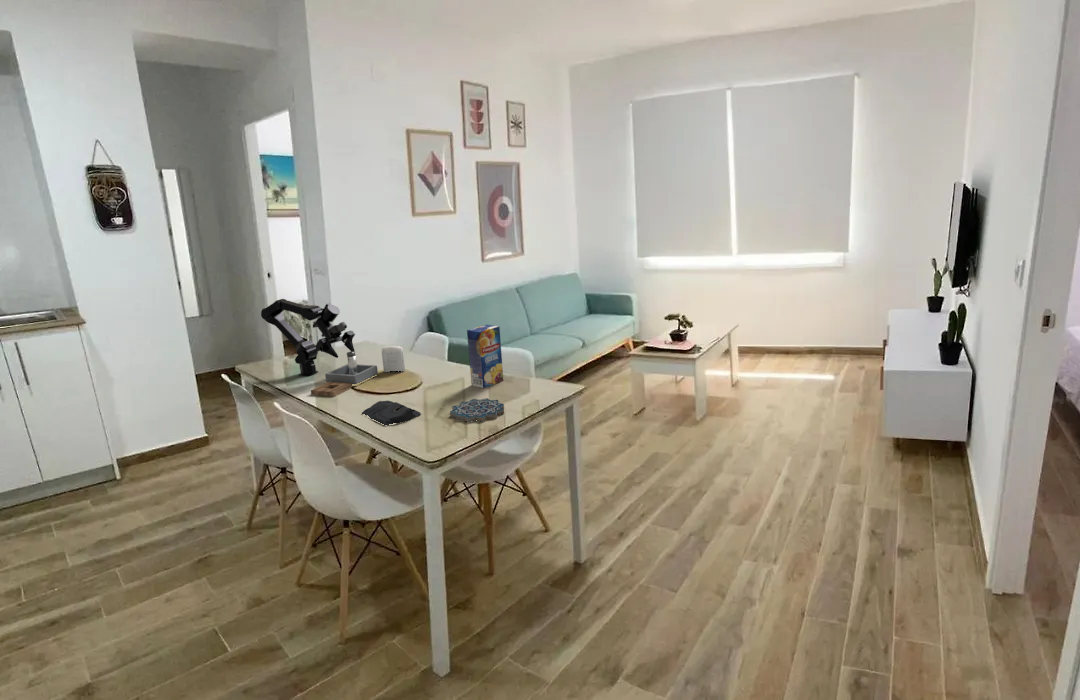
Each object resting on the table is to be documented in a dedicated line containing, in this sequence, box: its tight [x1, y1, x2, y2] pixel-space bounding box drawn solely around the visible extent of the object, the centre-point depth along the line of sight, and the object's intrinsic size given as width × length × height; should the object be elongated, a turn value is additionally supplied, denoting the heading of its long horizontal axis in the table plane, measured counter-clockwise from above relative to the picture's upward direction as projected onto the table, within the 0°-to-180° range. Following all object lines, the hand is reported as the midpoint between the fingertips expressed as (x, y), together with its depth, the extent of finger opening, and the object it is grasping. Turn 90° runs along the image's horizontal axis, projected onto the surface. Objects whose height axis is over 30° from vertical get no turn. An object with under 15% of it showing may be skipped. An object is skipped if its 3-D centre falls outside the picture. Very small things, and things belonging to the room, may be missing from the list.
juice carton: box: [466, 324, 504, 389], centre depth 260 cm, size 12×8×24 cm, turn 140°
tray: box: [324, 363, 379, 384], centre depth 277 cm, size 16×16×5 cm
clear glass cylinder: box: [346, 350, 358, 375], centre depth 275 cm, size 4×4×12 cm
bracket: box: [310, 381, 353, 397], centre depth 263 cm, size 12×12×2 cm
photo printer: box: [381, 345, 406, 373], centre depth 286 cm, size 10×4×12 cm, turn 85°
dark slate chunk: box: [361, 400, 422, 425], centre depth 231 cm, size 15×22×5 cm
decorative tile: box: [449, 397, 505, 423], centre depth 229 cm, size 20×20×2 cm
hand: (346, 354), depth 276 cm, fingers open, 9 cm apart
